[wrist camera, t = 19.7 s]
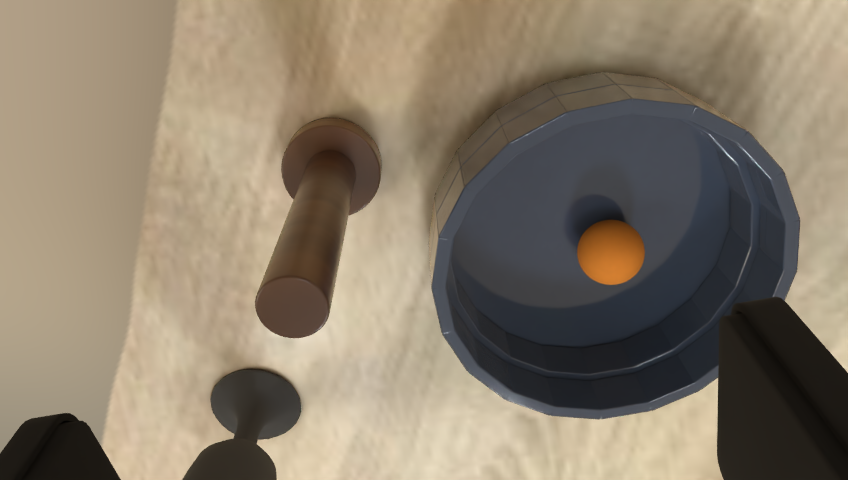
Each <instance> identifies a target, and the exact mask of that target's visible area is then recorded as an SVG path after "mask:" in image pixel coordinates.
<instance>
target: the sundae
mask: <svg viewBox="0 0 848 480" xmlns="http://www.w3.org/2000/svg"><path fill="white" fill-rule="evenodd" d="M211 407H212V410H213V413H214V415H215V416H216V418H217V419H218V421H219V422H220V423H221V424H222V425H223V426H224V427H225V428H226V429H228V430H229V431H231V432H232V433H234V434H235V436H234V439H229V440H225V441H222V442H218V443H215V444H213V445H210V446H209V447H207V448H206V449H204V450H203V451H202V452H201V453H200V454H199V456H198V457H197V459H196V460H195V461H194V463H193V464H192V466H191V467H190V468H189V470H188V471H187V473H186V475H185V476H184V478H183V480H277V479H276V469H275V465H274V463H273V461H272V459H271V458H270V457H269V455H268V454H267V453H266V452H265V451H264V450H263V449H262V448H260V447H259V446H258V445H257V440H258V439H269V438H273V437H276V436H279V435H281V434H284V433H286V432H287V431H288V430H290V429H291V428H292V427H293V426H294V425H295V424H296V422H297V420H298V418H299V416H300V413H301V404H300V398H299V396H298V394H297V393H296V391H295V390H294V388H293V387H292V386H291V385H290V384H289V383H288V382H287V381H285V380H284V379H283V378H281V377H279V376H278V375H275V374H273V373H270V372H266V371H262V370H241V371H237V372H234V373H231V374H229V375H227V376H225V377H224V378H223V379H221V380H220V381H219V382H218V383H217V384H216V386H215V387H214V390H213V392H212V395H211Z"/></svg>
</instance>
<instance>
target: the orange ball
mask: <svg viewBox="0 0 848 480" xmlns="http://www.w3.org/2000/svg"><path fill="white" fill-rule="evenodd" d="M577 257H578V261H579V264H580V266H581V268H582V270H583V271H584V272H585V274H586V275H587V276H589V277H590V278H591V279H593V280H594V281H596V282H599V283H602V284H606V285H616V284H621V283H624V282H626V281H628V280H630V279H631V278H632V277H634V276H635V275H636V274H637V273H638V271H639V270H640V268H641V266H642V264H643V261H644V257H645V249H644V244H643V241H642V238H641V237H640V235H639V233H638V232H637V231H636V230H635V229H634V228H633V227H632V226H630V225H628V224H627V223H625V222H622V221H619V220H603V221H600V222H597V223H595V224H593V225H592V226H590V227H589V228H588V229H587V230H586V231H585V232H584V233H583V234H582V236H581V238H580V240H579V243H578V247H577Z"/></svg>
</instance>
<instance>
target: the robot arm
mask: <svg viewBox="0 0 848 480" xmlns="http://www.w3.org/2000/svg"><path fill="white" fill-rule="evenodd" d="M717 457H718V463H719V467H720V471H721V474H722V476H723V479H724V480H848V373H847V372H846V370H845V369H844V368H843V367H842V366H841V365H840V364H839V362H838V361H837V360H836V359H835V358H834V357H833V356H832V354H831V353H830V352H829V351H828V350H827V349H826V348H825V346H824V345H823V344H822V343H821V342H820V341H819V340H818V338H817V337H816V336H815V335H814V334H813V333H812V332H811V330H810V329H809V328H808V327H807V326H806V325H805V324H804V322H803V321H802V320H801V319H800V318H799V317H798V316H797V314H796V313H795V312H794V311H793V310H792V309H791V308H790V306H789V305H788V304H787V303H786V302H785V301H784V300H783V299H782V298H780V297H771V298H765V299H759V300H753V301H747V302H741V303H736V304H734V305H733V307H732V309H731V315H727V316H723V317H721V319H720V322H719V366H718V433H717ZM0 480H121V479H120V478H119V476H118V474H117V473H116V471H115V469H114V468H113V466H112V464H111V463H110V461H109V459H108V457H107V456H106V454H105V452H104V451H103V449H102V447H101V446H100V444H99V442H98V441H97V439H96V437H95V436H94V434H93V432H92V431H91V429H90V427H89V426H88V425H87V423H85V422H83V421H79V420H78V419H77V418H76V417H75V416H74V415H72V414H70V413H63V414H57V415H50V416H45V417H38V418H32V419H29V420H27V421H25V422H24V423H23V424H22V425H21V426H20V427H19V429H18V430H17V431H16V433H15V434H14V436H13V437H12V438H11V440H10V441H9V442H8V444H7V445H6V446H5V448H4V449H3V451H2V452H1V453H0Z"/></svg>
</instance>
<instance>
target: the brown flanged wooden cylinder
mask: <svg viewBox="0 0 848 480" xmlns="http://www.w3.org/2000/svg"><path fill="white" fill-rule="evenodd" d="M281 171H282V178H283V182H284V185H285V187H286V189H287V191H288V193H289V194H290V196H291V197H292V198H293V199H294V200H293V203H292V206H291V208H290V211H289V213H288V216H287V218H286V221H285V224H284V226H283V229H282V231H281V234H280V236H279V239H278V242H277V244H276V247H275V249H274V252H273V254H272V257H271V260H270V262H269V265H268V267H267V270H266V272H265V275H264V278H263V280H262V283H261V285H260V288H259V290H258V293H257V296H256V300H255V308H256V312H257V315H258V317H259V319H260V321H261V322H262V323H263V324H264V326H265V327H267V328H268V329H269V330H270V331H272V332H274V333H275V334H278V335H280V336H283V337H288V338H302V337H306V336H309V335H312V334H314V333H315V332H317V331H318V330H320V329H321V328H322V327H323V326H324V324H325V323H326V321H327V319H328V317H329V313H330V308H331V302H332V297H333V292H334V287H335V282H336V277H337V271H338V266H339V261H340V256H341V251H342V246H343V240H344V235H345V230H346V225H347V220H348V215H351V214H354V213H356V212H358V211H360V210H361V209H363V208H364V207H365V206H366V205H367V204H368V203H369V202H370V201H371V200H372V199H373V197H374V196H375V194H376V192H377V190H378V187H379V183H380V177H381V157H380V153H379V150H378V148H377V146H376V144H375V142H374V141H373V139H372V138H371V137H370V135H369V134H368V133H367V132H366V131H364V130H363V129H362V128H361V127H359V126H358V125H356V124H354V123H352V122H349V121H346V120H342V119H337V118H325V119H319V120H316V121H313V122H311V123H308V124H307V125H305V126H303V127H302V128H301V129H300V130H298V131H297V133H296V134H295V135H294V136H293V138H292V139H291V141H290V143H289V145H288V147H287V149H286V151H285V153H284V156H283V159H282V169H281Z"/></svg>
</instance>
